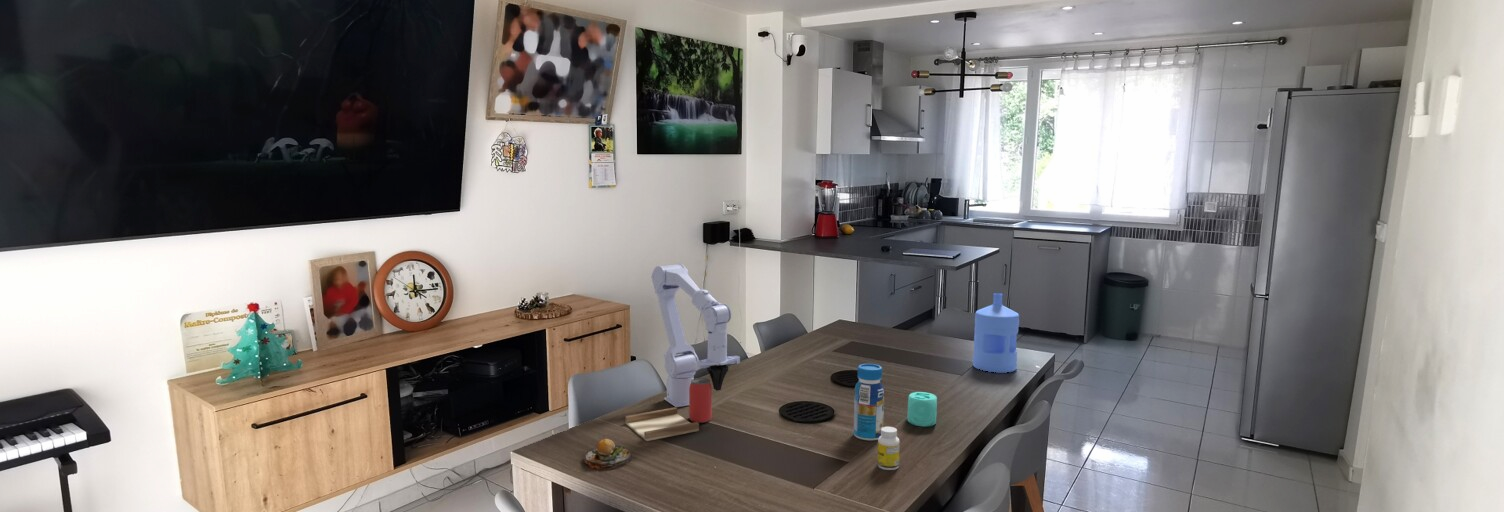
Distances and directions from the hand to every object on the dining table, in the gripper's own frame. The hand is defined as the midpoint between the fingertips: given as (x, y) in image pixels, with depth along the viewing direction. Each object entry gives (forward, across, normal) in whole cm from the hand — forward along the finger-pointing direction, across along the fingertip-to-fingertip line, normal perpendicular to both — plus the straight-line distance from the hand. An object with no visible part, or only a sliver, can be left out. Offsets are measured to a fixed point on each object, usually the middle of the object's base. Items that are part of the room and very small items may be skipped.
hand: (717, 389), depth 225 cm
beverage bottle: (+9, +29, -35) cm, 47 cm away
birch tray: (+8, -18, 0) cm, 20 cm away
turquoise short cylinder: (+9, +50, -34) cm, 61 cm away
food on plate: (+9, -40, -15) cm, 43 cm away
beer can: (+9, -6, 0) cm, 10 cm away
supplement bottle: (+9, +20, -54) cm, 58 cm away
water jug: (+9, +114, -4) cm, 115 cm away
